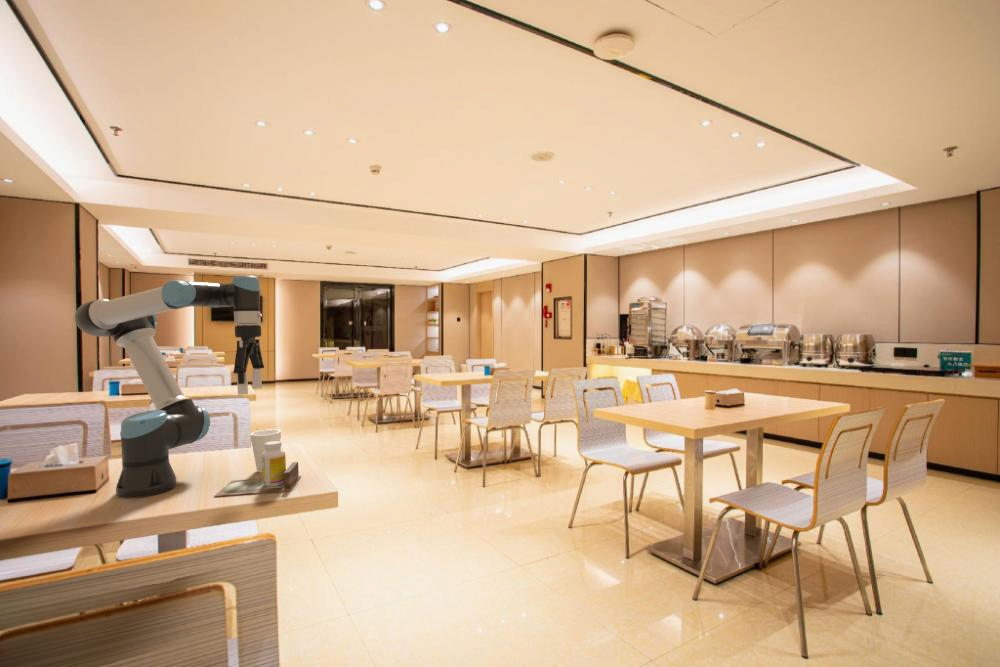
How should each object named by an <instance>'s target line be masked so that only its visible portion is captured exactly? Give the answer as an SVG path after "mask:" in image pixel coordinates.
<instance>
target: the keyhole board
mask: <svg viewBox="0 0 1000 667" xmlns="http://www.w3.org/2000/svg"><path fill="white" fill-rule="evenodd" d="M301 478H302V475H300V474H299V461H293V462H292V463H291V464H290V465H289V466H288V467H286V471H285V472H284V484H282V485H279V486H272V487H268V486H264V485H263V477H262V478H252V479H251V478H249V479H238V480H237V479H235V480H230V482H229V483H228V484H226V485H225V486H224V487H222V489H220V490H219V491H218V492H217V493H215V494H214V496H213V498H221V497H233V496H235V497H236V496H245V495H246V496H249V495H261V494H263V495H264V494H273V493H289V492H291V491H292V490H293V489H294V487H295V486H296V485H297V483H298V482H299V481H300V479H301Z"/></svg>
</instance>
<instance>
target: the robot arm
mask: <svg viewBox="0 0 1000 667" xmlns="http://www.w3.org/2000/svg"><path fill="white" fill-rule="evenodd" d="M189 307H199V308H200V307H205V308H212V309H213V308H226V307H227V308H228V307H229V308H230V307H231V308H233V319H234V320H233V322H234V324H235V326H234V337H235V338H240V340H237V341H236V351H235V360H234V365H233V374H236V380H237V384H236V385H237V395H238V396H239V395H248V394H249V386H248V385H249V384H248V382H249V381H248V372H247V369H248V364H249V361H250V363H251V366H252V369H251V383H252V384H251V386H252V389H253V390H254V389H257V390H258V389H262V388H263V387H262V386H263V385H262V384H263V383H262V382H263V381H262V378H263V377H262V369H265V365H264V361H263V357H262V352H261V345H260V337H262V326H261V325H260V324H261V318H263V314H262V313H261V288H260V280H259V278H258V277H257V276H254V275H236V276H233V278H232V282H230V283H229V282H228V283H216V282H205V281H204V282H203V281H201V282H200V281H191V280H184V279H177V280H176V279H174V280H168V281H166V283H165V284H163V285H162V286H160V287H159V286H158V287H157V288H156V287H155V288H152V289H148V290H144V291H141V292H140V291H139V292H136V293H132V294H128V295H124V296H121V297H120V296H119V297H117V298H113V299H107V298H98V299H95V300H91V301H86V302H85V303H82V304H81V305H80V306H79V307H78V308H77V309H76V311H75V314H74V321H75V324H76V326H77V328H79V330H81V331H82V332H83V333H85V334H87V335H89V336H93V337H98V338H99V337H102V338H103V337H105V338H106V337H112V338H113V340H114V342H115V344H116V346H118V347H120V348H124V350H125V352H126V354H127V356H128V357H129V359H130V362H131V363H132V365H133V367H134V369H135V371H136V373H137V375H138V376H139V378H140V380H141V382H142V385H143V386H144V388H145V390H146V392H147V394H148V396H149V398H150V400H151V401H152V403H153V405H154V407H155V410H154V409H153V410H148V411H143V412H142V411H141V412H137V413H135V414H131V415H130V416H127V417H125V418H124V419H123V420H122V421H121V424H120V433H119V436H120V444H121V464H122V466H121V468H122V469H121V472H120V474H119V477H118V482H117V483H116V486H115V492H116V493H115V496H116V497H117V498H122V499H132V498H133V499H134V498H143V497H149V496H153V495H158V494H161V493H164V492H167V491H170V490H172V489H174V488H175V487H177V484H178V482H177V481H178V480H177V476H176V473H175V471H174V470H173V467H172V465H171V463H170V457H169V455H170V454H169V453H170V452H169V450H171V449H175V448H178V447H181V446H185V445H190V444H193V443H195V442H197V441H200V440H202V439H203V438H205V436H206V435H207V434H208V432H209V430H210V426H211V417H210V414H209V411H208V410H207V409H206V408H205V407H202V406H199V405H195V403H194V401H193V399H192V398H191V397H187V396H185V395H184V394H183V391H182V389H181V387H180V385H179V384H178V382H177V380H176V377H175V376H174V374H173V373H172V371H171V368H170V367H169V365H168V363H167V361H166V359H165V358H164V355H163V354H162V352H161V350H160V348H159V346H158V344H157V343H156V340H155V339H154V337H155V335H156V333H157V332H156V328H157V327H158V323H157V322H158V318H157V317H158V316H157V315H159V314H162V313H166V312H171V311H175V310H180V309H185V308H189ZM256 338H257V339H256Z"/></svg>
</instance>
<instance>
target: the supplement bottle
mask: <svg viewBox="0 0 1000 667" xmlns="http://www.w3.org/2000/svg"><path fill="white" fill-rule="evenodd" d="M282 445H283V444H282V441H281V440H280V441H271V442H267V443H265V449H266V451H264V452H263V454H262V478H263V485H264V486H268V487H272V486H279V485H282V484H284V472H285V471H286V470H287V465H286V451H285V450H284V449H282Z"/></svg>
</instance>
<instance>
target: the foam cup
mask: <svg viewBox="0 0 1000 667" xmlns="http://www.w3.org/2000/svg"><path fill="white" fill-rule="evenodd" d="M281 431H282V430H281V429H273V428H269V429H262V430H257V431H253V432H251V433H250V442H251V446H252V452H253V458H254V462H255V467H256V472H257V473H262V454H263V452H264V451H266V449H265V443H267V442H271V441H281V438H282V434H281V433H282V432H281ZM262 474H263V473H262Z"/></svg>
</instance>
